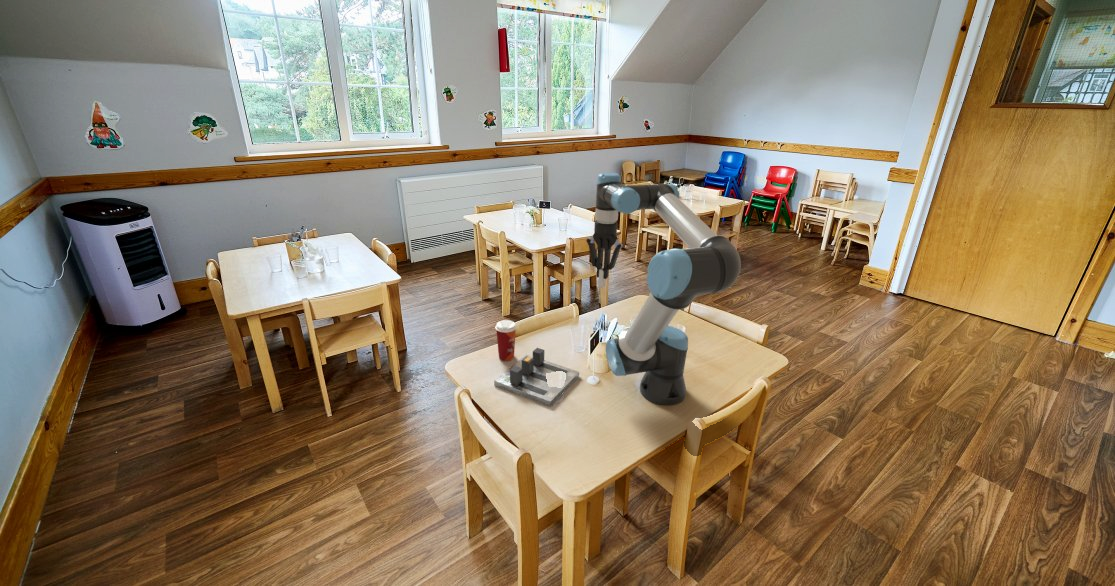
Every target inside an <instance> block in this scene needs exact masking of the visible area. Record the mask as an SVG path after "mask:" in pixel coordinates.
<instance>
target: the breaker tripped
mask: <svg viewBox="0 0 1115 586" xmlns="http://www.w3.org/2000/svg"><path fill="white" fill-rule="evenodd" d="M522 368H523V373H524V374H527V375H530V374H531V373H532V372H533V371H534V359H533V358H530V357H527V356H526V357H525V358H524V359H523V360H522Z"/></svg>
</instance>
